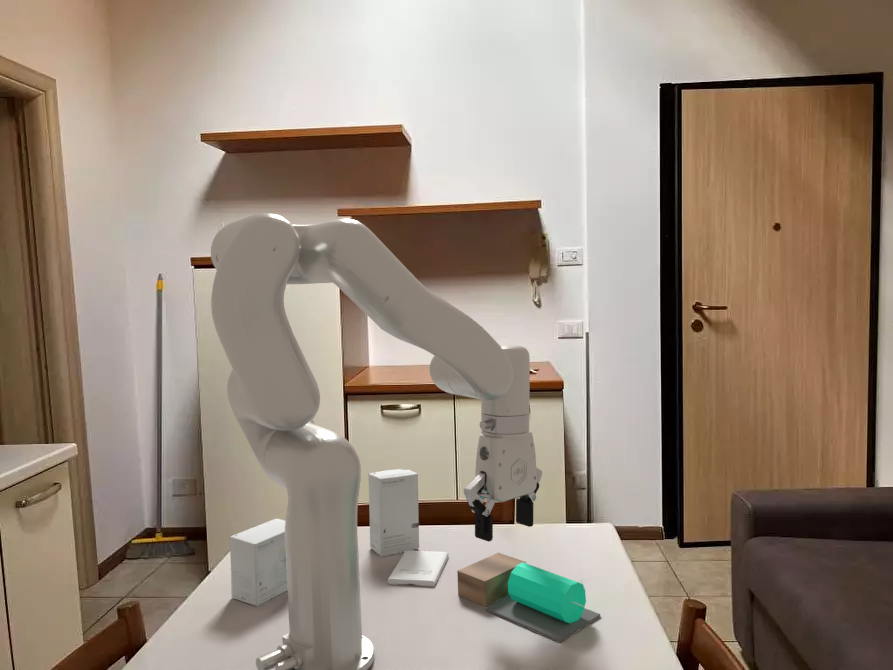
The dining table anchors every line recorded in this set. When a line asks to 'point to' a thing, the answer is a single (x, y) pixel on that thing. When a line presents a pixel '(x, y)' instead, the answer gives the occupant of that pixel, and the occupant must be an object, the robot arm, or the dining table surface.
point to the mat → (540, 619)
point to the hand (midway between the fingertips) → (504, 531)
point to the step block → (487, 578)
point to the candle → (547, 592)
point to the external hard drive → (419, 568)
